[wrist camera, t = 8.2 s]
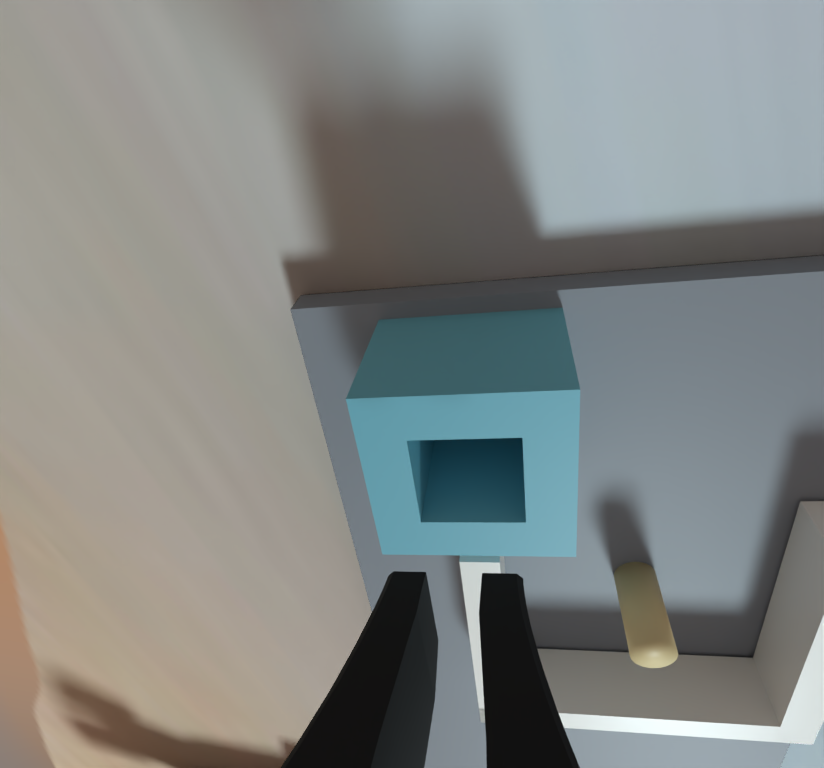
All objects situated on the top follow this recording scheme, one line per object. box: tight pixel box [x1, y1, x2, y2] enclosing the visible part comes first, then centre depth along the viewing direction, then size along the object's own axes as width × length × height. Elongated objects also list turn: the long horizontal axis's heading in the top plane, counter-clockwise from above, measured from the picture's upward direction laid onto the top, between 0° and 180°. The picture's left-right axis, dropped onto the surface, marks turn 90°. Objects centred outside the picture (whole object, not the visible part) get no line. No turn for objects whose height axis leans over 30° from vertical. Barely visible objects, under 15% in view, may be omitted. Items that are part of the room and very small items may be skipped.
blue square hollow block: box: [346, 308, 580, 557], centre depth 15 cm, size 5×5×4 cm
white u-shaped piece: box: [459, 501, 824, 745], centre depth 19 cm, size 11×9×2 cm
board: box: [291, 255, 824, 768], centre depth 21 cm, size 17×28×4 cm, turn 8°
